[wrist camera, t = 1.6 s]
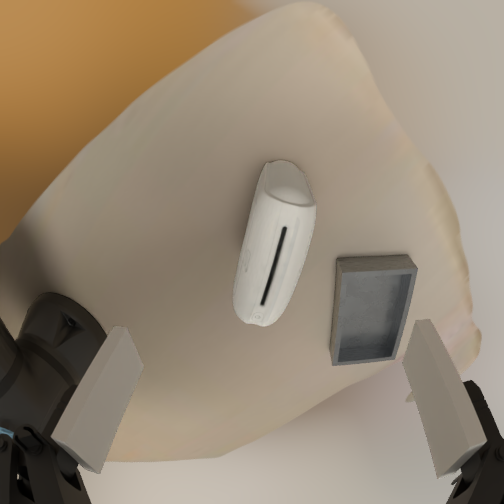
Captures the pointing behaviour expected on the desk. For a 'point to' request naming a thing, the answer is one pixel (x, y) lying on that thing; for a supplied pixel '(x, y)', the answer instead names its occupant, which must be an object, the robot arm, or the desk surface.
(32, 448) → the robot arm
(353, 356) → the grey rectangular tray
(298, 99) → the desk surface
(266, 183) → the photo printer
